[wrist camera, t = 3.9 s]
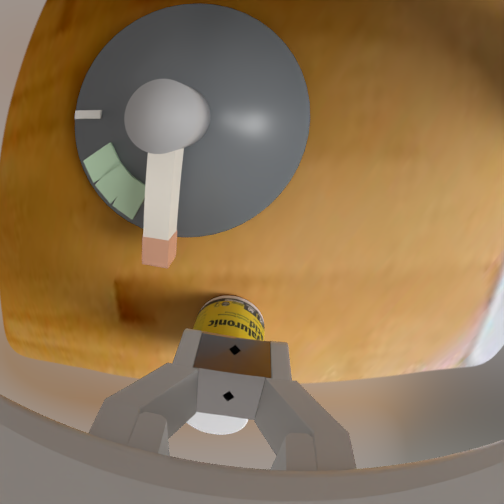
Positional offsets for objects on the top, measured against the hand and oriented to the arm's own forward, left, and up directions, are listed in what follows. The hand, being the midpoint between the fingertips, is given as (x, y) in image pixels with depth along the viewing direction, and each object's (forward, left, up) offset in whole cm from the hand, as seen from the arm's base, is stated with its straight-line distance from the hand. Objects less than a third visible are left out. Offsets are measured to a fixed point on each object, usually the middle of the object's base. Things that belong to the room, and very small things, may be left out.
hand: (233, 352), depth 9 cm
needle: (+6, -3, -12) cm, 14 cm away
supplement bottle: (+1, +9, -14) cm, 16 cm away
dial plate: (+6, -6, -14) cm, 16 cm away
